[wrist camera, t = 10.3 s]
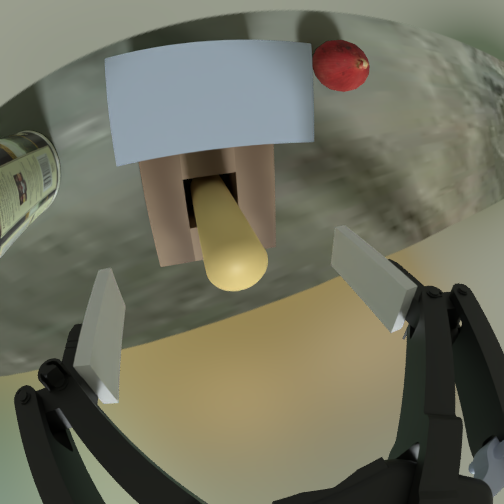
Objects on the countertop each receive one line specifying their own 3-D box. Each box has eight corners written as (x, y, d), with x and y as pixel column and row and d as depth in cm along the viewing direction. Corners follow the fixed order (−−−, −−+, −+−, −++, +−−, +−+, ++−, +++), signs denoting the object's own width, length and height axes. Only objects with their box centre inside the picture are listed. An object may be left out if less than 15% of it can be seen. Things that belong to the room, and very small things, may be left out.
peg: (188, 173, 28) (201, 243, 14) (221, 168, 29) (267, 232, 15) (192, 204, 30) (210, 296, 16) (224, 199, 30) (268, 284, 17)
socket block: (162, 244, 31) (160, 266, 27) (143, 141, 25) (136, 147, 21) (262, 227, 33) (275, 246, 29) (257, 126, 27) (273, 130, 23)
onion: (293, 49, 23) (330, 35, 17) (336, 42, 24) (379, 32, 17) (309, 96, 27) (348, 96, 20) (349, 86, 27) (394, 87, 20)
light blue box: (143, 141, 25) (116, 166, 14) (137, 80, 21) (104, 58, 10) (257, 126, 27) (314, 141, 16) (254, 67, 24) (311, 43, 13)
